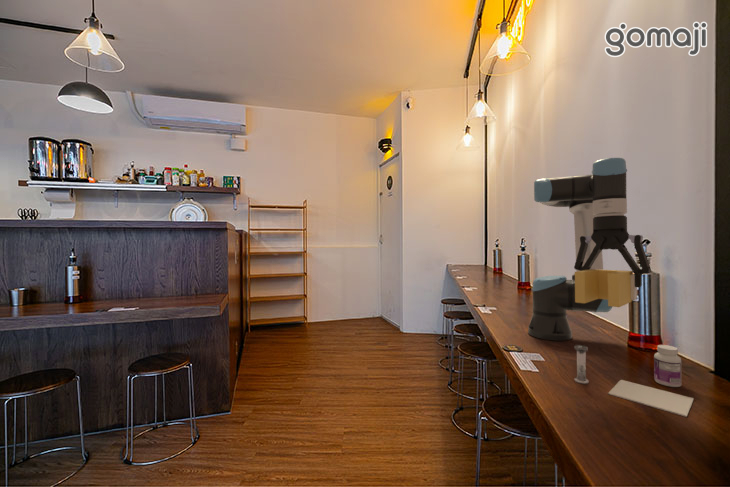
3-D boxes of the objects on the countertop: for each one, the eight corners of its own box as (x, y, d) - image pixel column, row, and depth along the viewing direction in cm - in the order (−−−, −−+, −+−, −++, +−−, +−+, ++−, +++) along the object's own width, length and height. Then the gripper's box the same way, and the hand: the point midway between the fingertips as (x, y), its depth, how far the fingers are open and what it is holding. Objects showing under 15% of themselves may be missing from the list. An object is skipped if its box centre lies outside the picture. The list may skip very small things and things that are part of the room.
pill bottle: (655, 377, 91) (654, 342, 91) (681, 382, 87) (681, 346, 87) (653, 383, 87) (653, 347, 87) (681, 389, 83) (680, 352, 83)
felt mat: (620, 380, 89) (620, 379, 89) (693, 399, 78) (693, 398, 78) (608, 394, 82) (608, 392, 82) (686, 417, 71) (686, 415, 71)
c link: (591, 296, 95) (591, 269, 95) (633, 301, 87) (632, 271, 87) (575, 302, 86) (574, 271, 86) (619, 307, 79) (618, 274, 79)
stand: (576, 377, 91) (576, 343, 91) (590, 381, 89) (590, 346, 89) (572, 381, 89) (572, 346, 89) (586, 385, 87) (586, 349, 86)
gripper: (560, 217, 96) (561, 294, 96) (660, 211, 79) (661, 304, 79) (569, 218, 101) (570, 291, 101) (666, 213, 84) (667, 300, 84)
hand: (610, 297), depth 90 cm, fingers closed on c link, 9 cm apart
